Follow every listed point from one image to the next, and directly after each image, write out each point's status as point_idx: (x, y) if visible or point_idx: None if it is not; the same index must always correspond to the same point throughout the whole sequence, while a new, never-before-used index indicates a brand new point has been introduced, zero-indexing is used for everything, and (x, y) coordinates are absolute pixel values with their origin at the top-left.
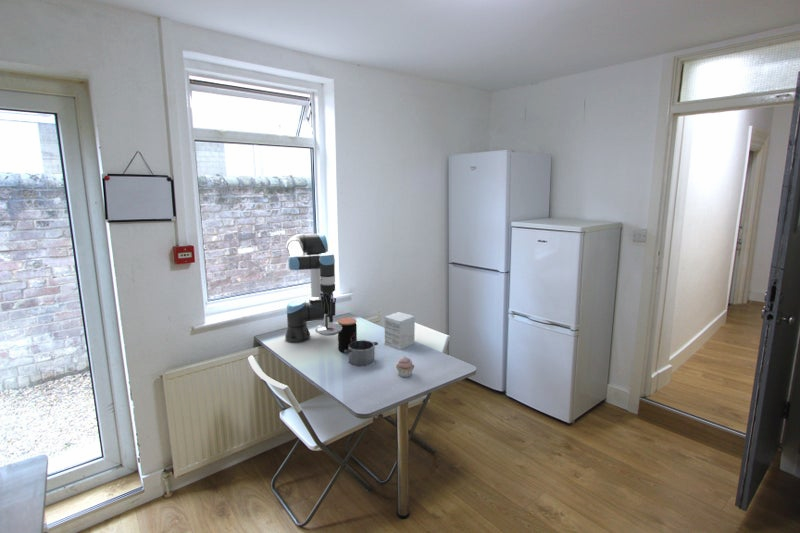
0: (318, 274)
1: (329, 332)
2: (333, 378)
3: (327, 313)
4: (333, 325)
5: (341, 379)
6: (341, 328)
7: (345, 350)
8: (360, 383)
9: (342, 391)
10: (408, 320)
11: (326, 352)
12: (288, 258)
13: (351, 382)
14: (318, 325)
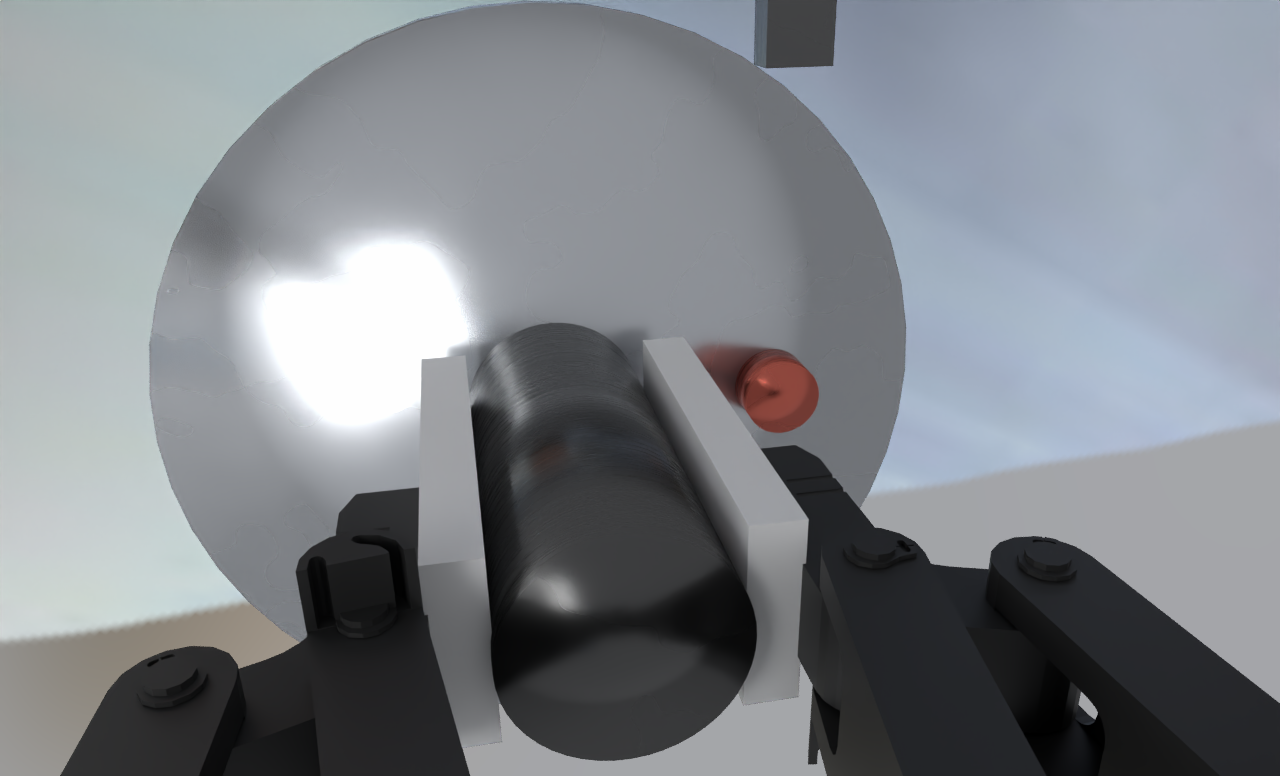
0: None
1: (863, 498)
2: (929, 332)
3: (524, 664)
4: (461, 223)
5: (1008, 266)
6: (816, 123)
7: (795, 52)
8: (1227, 123)
9: (1208, 363)
10: None
11: (99, 75)
12: None
13: (1138, 200)
14: (246, 580)
